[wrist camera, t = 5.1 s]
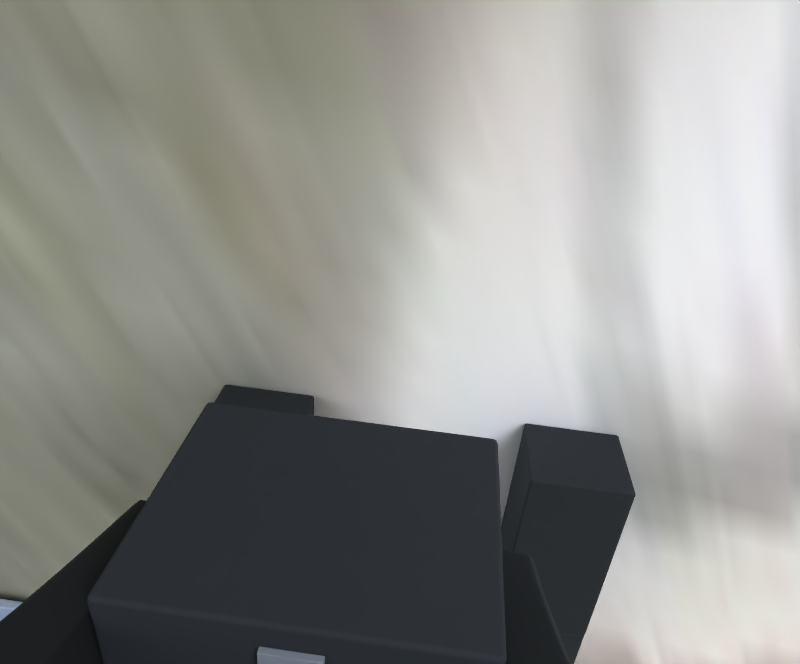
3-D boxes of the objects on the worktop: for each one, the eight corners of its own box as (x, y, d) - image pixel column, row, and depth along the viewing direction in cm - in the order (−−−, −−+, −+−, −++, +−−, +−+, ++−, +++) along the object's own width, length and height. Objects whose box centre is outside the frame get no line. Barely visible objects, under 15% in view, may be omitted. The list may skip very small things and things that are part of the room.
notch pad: (531, 703, 26) (536, 769, 24) (243, 659, 27) (222, 720, 25) (618, 435, 19) (636, 494, 17) (224, 383, 20) (193, 435, 17)
